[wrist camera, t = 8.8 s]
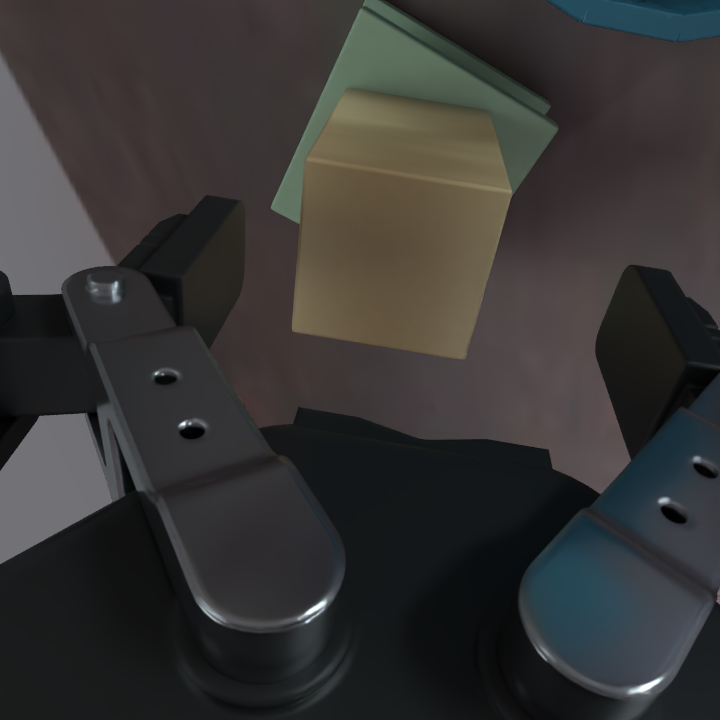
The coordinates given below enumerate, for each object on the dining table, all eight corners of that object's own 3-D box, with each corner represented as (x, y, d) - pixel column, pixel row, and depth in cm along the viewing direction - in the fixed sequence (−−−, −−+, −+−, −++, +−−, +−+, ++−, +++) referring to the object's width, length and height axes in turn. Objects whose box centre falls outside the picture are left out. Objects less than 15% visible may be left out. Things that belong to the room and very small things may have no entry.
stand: (548, 100, 21) (565, 127, 18) (441, 259, 25) (441, 302, 22) (370, -9, 20) (359, 1, 17) (286, 176, 24) (265, 210, 21)
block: (490, 110, 18) (513, 191, 13) (458, 244, 21) (465, 362, 15) (345, 86, 18) (304, 156, 13) (330, 223, 21) (290, 333, 15)
